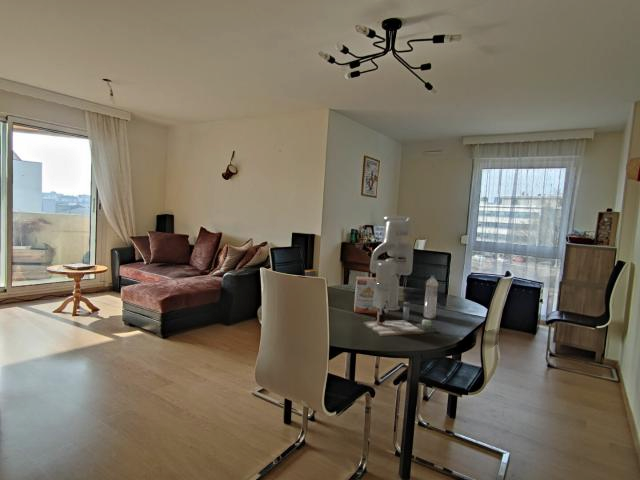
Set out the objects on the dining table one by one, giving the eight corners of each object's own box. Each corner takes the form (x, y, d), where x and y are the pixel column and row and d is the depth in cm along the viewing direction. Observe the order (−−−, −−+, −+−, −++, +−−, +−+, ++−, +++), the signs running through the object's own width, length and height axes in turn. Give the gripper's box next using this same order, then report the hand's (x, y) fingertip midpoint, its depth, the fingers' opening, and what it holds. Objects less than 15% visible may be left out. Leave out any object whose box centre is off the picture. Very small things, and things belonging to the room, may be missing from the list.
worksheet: (363, 323, 198) (363, 321, 198) (404, 322, 206) (404, 319, 206) (380, 335, 180) (380, 333, 180) (424, 333, 188) (424, 330, 188)
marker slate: (401, 319, 212) (402, 302, 211) (406, 319, 213) (407, 301, 212) (404, 321, 208) (405, 303, 208) (409, 320, 209) (411, 303, 209)
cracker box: (354, 312, 219) (357, 277, 217) (353, 310, 225) (356, 276, 223) (378, 314, 219) (381, 279, 218) (376, 311, 225) (379, 277, 224)
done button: (419, 326, 195) (420, 319, 195) (427, 325, 197) (427, 319, 196) (425, 328, 191) (425, 322, 191) (432, 328, 192) (433, 321, 192)
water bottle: (427, 319, 215) (430, 276, 213) (420, 315, 222) (424, 274, 220) (437, 318, 217) (441, 276, 215) (431, 315, 223) (434, 274, 222)
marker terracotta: (375, 322, 195) (376, 304, 195) (381, 322, 197) (382, 304, 196) (378, 324, 192) (379, 305, 191) (384, 324, 193) (385, 305, 193)
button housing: (416, 328, 196) (416, 323, 196) (427, 327, 198) (427, 323, 198) (424, 332, 189) (424, 327, 189) (435, 331, 192) (436, 327, 192)
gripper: (369, 283, 199) (366, 316, 201) (384, 289, 184) (381, 326, 185) (381, 283, 202) (379, 316, 203) (397, 289, 186) (394, 325, 188)
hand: (380, 320), depth 194 cm, fingers closed on marker terracotta, 3 cm apart
